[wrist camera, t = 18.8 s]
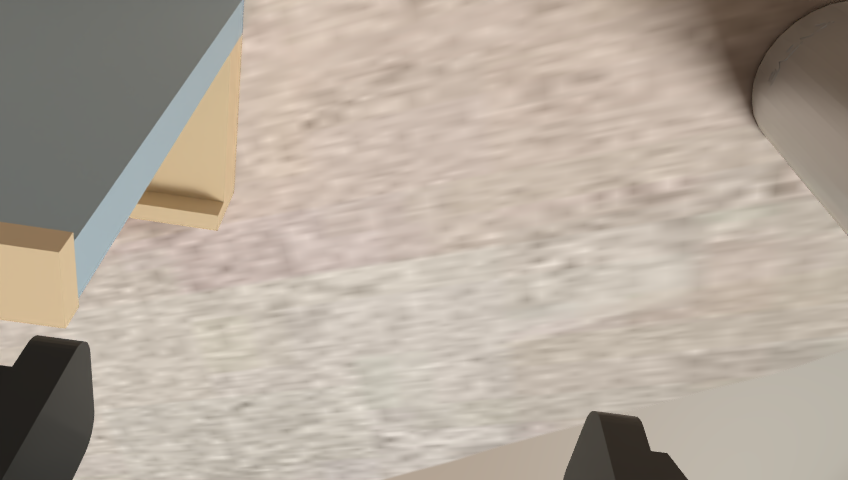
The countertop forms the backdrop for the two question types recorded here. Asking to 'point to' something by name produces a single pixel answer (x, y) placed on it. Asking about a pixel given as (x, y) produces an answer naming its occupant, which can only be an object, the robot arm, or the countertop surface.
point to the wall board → (108, 134)
